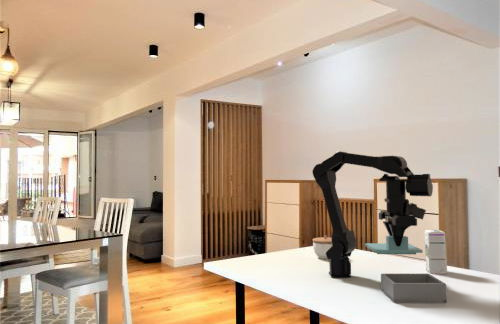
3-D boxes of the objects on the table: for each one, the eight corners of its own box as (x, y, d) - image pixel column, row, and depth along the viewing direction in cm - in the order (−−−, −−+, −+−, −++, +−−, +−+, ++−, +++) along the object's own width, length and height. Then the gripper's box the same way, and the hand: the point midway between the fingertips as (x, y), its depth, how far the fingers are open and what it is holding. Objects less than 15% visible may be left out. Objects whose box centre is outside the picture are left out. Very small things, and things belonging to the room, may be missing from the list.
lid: (374, 255, 119) (374, 237, 119) (365, 248, 130) (365, 231, 130) (422, 255, 118) (422, 237, 118) (409, 248, 129) (408, 231, 130)
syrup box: (447, 274, 132) (446, 232, 132) (429, 273, 133) (428, 231, 133) (442, 270, 137) (441, 229, 138) (425, 269, 138) (424, 229, 139)
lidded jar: (311, 255, 167) (311, 233, 167) (336, 255, 167) (335, 233, 167) (314, 260, 156) (314, 237, 157) (341, 260, 156) (340, 237, 156)
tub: (393, 302, 103) (393, 283, 103) (381, 290, 114) (380, 273, 114) (446, 302, 102) (446, 283, 102) (429, 290, 113) (428, 273, 113)
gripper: (434, 197, 110) (436, 251, 110) (411, 194, 129) (412, 240, 128) (395, 197, 111) (396, 251, 110) (377, 194, 130) (378, 240, 129)
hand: (396, 245), depth 120 cm, fingers closed on lid, 2 cm apart
